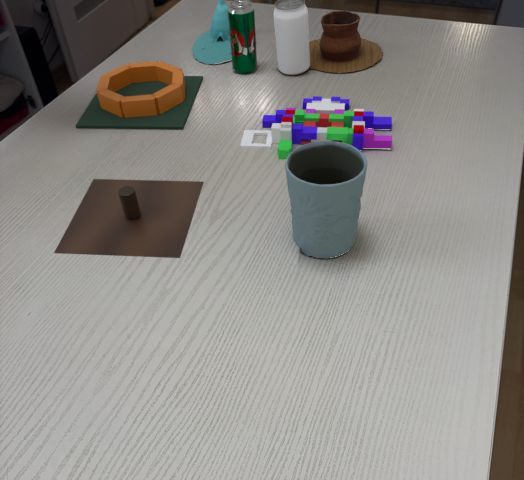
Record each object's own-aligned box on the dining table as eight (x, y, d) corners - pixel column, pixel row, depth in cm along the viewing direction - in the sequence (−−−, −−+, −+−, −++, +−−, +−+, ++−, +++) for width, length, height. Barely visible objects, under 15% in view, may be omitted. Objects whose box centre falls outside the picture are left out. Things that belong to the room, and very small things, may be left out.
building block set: (390, 103, 99) (393, 78, 96) (392, 166, 86) (396, 140, 83) (254, 101, 102) (253, 76, 99) (237, 161, 89) (235, 136, 86)
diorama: (184, 65, 114) (177, 19, 107) (202, 27, 126) (196, -16, 120) (241, 65, 112) (238, 19, 106) (253, 26, 125) (251, -17, 118)
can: (276, 63, 112) (270, -2, 102) (307, 57, 112) (304, -8, 102) (280, 78, 108) (274, 12, 98) (312, 72, 108) (310, 6, 98)
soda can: (253, 62, 113) (249, -4, 104) (260, 72, 110) (257, 5, 101) (229, 66, 112) (223, 1, 103) (236, 76, 109) (231, 10, 100)
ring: (97, 120, 99) (92, 104, 97) (106, 80, 110) (102, 65, 107) (184, 113, 100) (182, 96, 97) (185, 74, 110) (183, 58, 107)
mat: (76, 128, 99) (75, 125, 99) (107, 78, 111) (107, 75, 111) (183, 129, 97) (182, 126, 96) (203, 78, 109) (202, 75, 109)
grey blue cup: (348, 269, 72) (356, 191, 62) (276, 254, 74) (273, 177, 65) (366, 223, 77) (376, 145, 68) (299, 211, 80) (299, 134, 71)
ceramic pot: (280, 61, 112) (279, 24, 107) (324, 31, 121) (325, -5, 116) (357, 81, 105) (361, 42, 100) (398, 47, 114) (403, 9, 109)
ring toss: (55, 257, 76) (42, 228, 72) (94, 183, 87) (85, 154, 83) (180, 262, 74) (174, 233, 70) (204, 185, 85) (200, 156, 82)
